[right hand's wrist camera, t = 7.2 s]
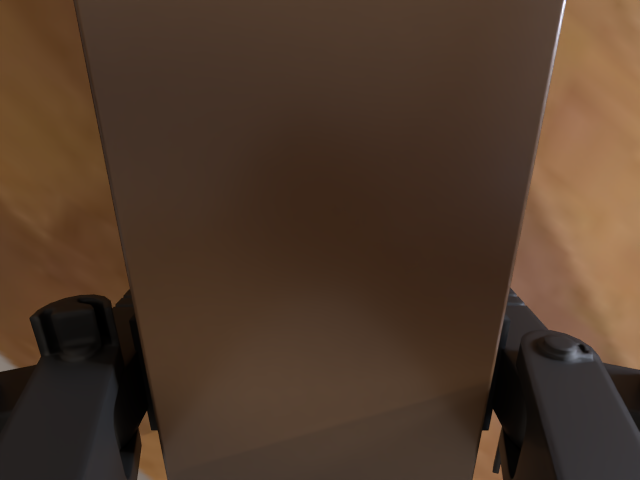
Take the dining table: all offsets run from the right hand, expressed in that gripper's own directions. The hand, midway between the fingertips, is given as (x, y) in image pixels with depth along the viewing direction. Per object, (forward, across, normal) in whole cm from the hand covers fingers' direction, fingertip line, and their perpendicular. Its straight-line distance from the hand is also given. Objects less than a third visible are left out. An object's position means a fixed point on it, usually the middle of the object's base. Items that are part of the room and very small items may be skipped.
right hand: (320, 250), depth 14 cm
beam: (+1, 0, -27) cm, 27 cm away
